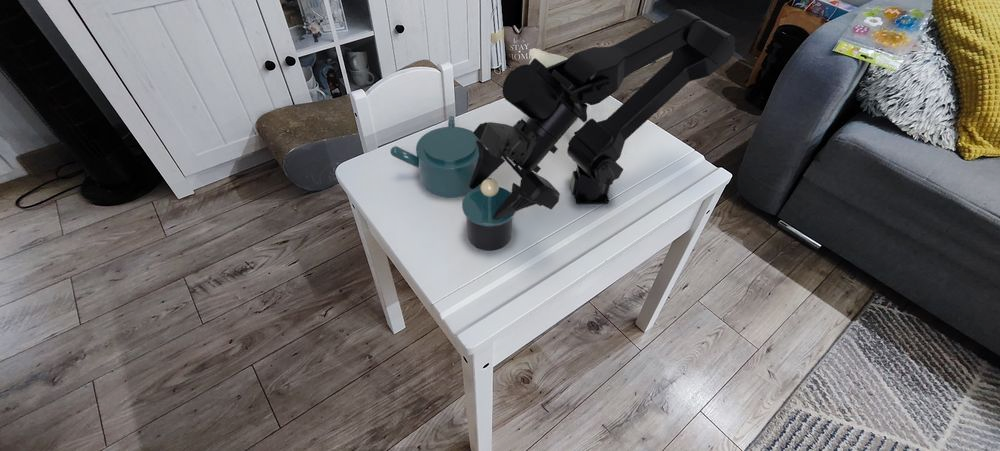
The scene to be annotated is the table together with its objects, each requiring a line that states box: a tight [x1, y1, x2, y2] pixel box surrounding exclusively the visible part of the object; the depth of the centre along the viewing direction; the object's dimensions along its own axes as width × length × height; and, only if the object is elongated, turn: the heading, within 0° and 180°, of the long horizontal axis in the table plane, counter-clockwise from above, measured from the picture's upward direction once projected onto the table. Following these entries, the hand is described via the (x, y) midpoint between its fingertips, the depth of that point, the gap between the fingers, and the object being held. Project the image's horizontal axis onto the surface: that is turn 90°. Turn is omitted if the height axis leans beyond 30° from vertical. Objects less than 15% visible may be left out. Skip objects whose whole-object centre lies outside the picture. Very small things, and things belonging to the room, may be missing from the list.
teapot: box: [389, 115, 481, 198], centre depth 91 cm, size 18×17×8 cm
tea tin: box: [465, 216, 514, 252], centre depth 79 cm, size 8×8×7 cm
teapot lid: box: [461, 177, 517, 226], centre depth 75 cm, size 9×9×6 cm
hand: (482, 203), depth 75 cm, fingers open, 8 cm apart
